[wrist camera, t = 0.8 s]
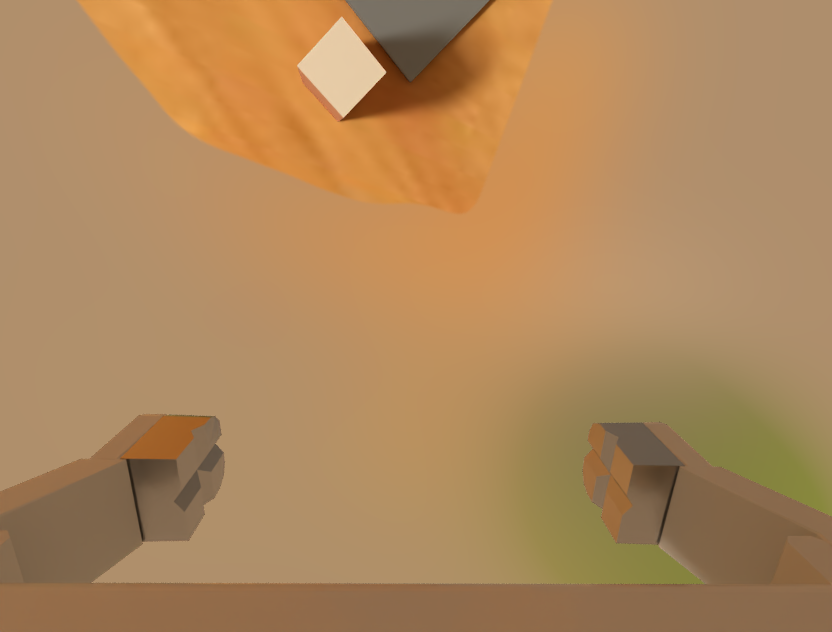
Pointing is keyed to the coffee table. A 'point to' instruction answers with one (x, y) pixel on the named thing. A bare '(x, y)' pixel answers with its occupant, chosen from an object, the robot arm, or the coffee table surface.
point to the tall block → (340, 70)
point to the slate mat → (415, 27)
